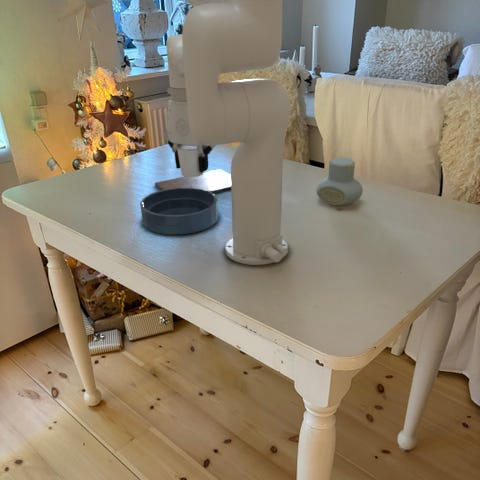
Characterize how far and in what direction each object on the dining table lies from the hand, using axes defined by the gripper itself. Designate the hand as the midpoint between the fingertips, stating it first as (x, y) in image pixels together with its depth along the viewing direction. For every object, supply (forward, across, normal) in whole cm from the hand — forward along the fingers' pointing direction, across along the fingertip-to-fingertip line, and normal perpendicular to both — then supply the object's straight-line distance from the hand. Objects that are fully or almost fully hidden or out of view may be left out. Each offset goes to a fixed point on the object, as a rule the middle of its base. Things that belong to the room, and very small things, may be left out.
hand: (192, 168), depth 127 cm
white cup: (+2, 0, 0) cm, 2 cm away
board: (+5, +1, +2) cm, 6 cm away
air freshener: (+5, +38, +7) cm, 39 cm away
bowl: (+5, +9, -19) cm, 21 cm away
